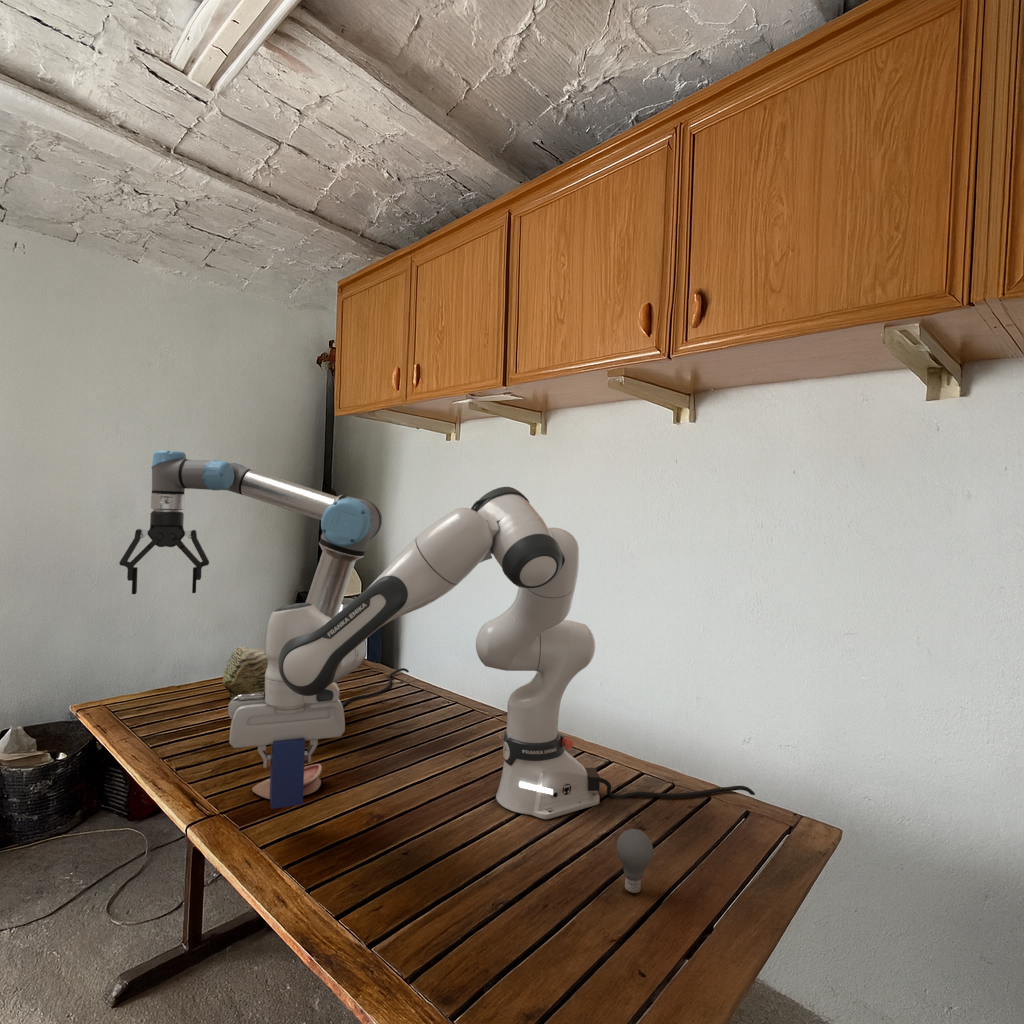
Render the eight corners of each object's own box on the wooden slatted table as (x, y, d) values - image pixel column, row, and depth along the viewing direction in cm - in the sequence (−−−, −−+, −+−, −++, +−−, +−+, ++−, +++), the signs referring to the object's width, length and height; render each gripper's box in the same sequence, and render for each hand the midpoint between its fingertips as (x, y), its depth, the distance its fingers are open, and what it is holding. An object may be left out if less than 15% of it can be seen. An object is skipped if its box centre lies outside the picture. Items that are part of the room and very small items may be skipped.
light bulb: (610, 879, 108) (613, 822, 108) (644, 879, 109) (647, 822, 109) (619, 902, 102) (622, 840, 102) (655, 901, 103) (658, 840, 103)
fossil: (218, 695, 195) (220, 647, 195) (278, 685, 208) (279, 640, 207) (228, 703, 189) (230, 653, 188) (289, 692, 201) (290, 645, 201)
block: (271, 809, 114) (273, 743, 114) (269, 794, 120) (271, 731, 119) (302, 804, 116) (305, 739, 116) (299, 789, 122) (301, 728, 122)
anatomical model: (244, 776, 132) (275, 755, 144) (243, 795, 132) (274, 772, 144) (301, 785, 130) (329, 762, 141) (301, 804, 130) (328, 780, 141)
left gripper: (108, 509, 155) (105, 596, 155) (220, 512, 165) (217, 594, 165) (113, 508, 161) (110, 591, 162) (221, 511, 172) (218, 590, 172)
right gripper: (228, 700, 110) (225, 779, 111) (347, 691, 119) (345, 764, 119) (228, 690, 116) (226, 764, 116) (342, 681, 124) (340, 751, 125)
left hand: (164, 593), depth 163 cm, fingers open, 13 cm apart
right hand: (287, 764), depth 118 cm, fingers closed on block, 5 cm apart
